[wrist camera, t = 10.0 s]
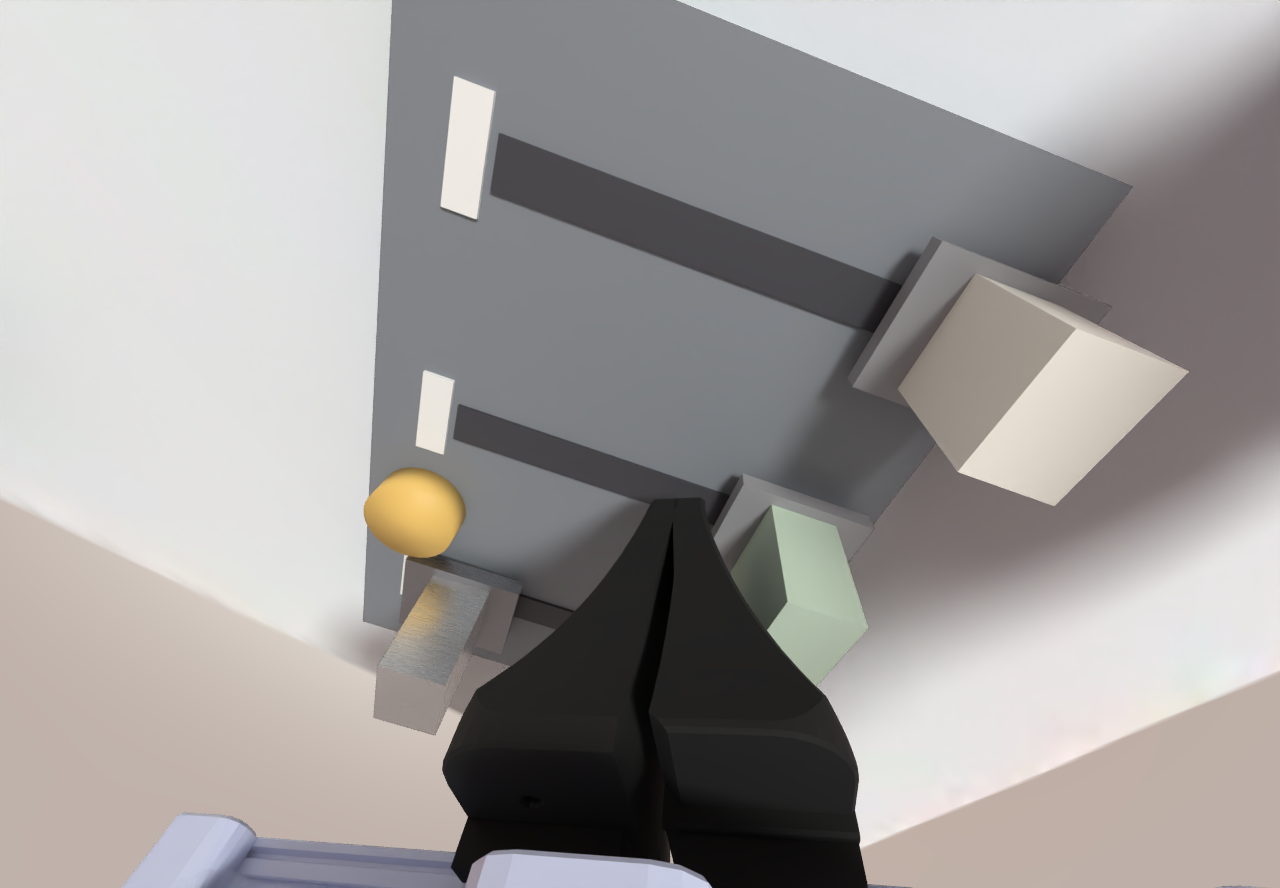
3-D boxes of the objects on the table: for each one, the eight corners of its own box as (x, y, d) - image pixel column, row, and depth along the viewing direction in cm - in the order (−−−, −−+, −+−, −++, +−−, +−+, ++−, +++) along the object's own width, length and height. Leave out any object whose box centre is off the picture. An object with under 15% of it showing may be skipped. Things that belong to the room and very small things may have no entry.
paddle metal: (523, 582, 16) (480, 689, 13) (506, 642, 18) (464, 749, 15) (413, 547, 16) (343, 648, 13) (406, 611, 18) (342, 714, 15)
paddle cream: (1095, 299, 10) (1264, 374, 7) (989, 428, 12) (1087, 535, 9) (932, 235, 10) (1033, 285, 7) (846, 377, 12) (897, 468, 9)
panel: (1092, 181, 11) (1173, 192, 9) (716, 699, 21) (716, 754, 19) (430, -88, 10) (363, -140, 8) (380, 596, 20) (347, 644, 18)
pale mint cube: (869, 516, 14) (916, 632, 11) (810, 593, 15) (836, 714, 12) (742, 473, 13) (752, 578, 10) (696, 556, 15) (694, 669, 12)
